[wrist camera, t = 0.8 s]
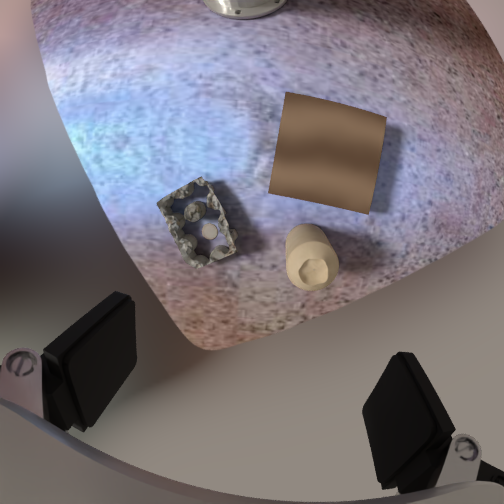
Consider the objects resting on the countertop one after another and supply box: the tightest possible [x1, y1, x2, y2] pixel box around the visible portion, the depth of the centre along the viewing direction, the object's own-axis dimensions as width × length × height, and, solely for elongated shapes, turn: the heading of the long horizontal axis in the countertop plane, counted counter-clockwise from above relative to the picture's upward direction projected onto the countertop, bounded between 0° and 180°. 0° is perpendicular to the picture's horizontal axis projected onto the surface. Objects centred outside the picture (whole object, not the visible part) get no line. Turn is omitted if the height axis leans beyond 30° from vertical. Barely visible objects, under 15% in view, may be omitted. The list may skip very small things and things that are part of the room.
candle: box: [286, 224, 339, 291], centre depth 31 cm, size 6×6×10 cm
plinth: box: [268, 92, 387, 215], centre depth 30 cm, size 12×12×4 cm
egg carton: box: [157, 177, 238, 269], centre depth 35 cm, size 11×8×4 cm
